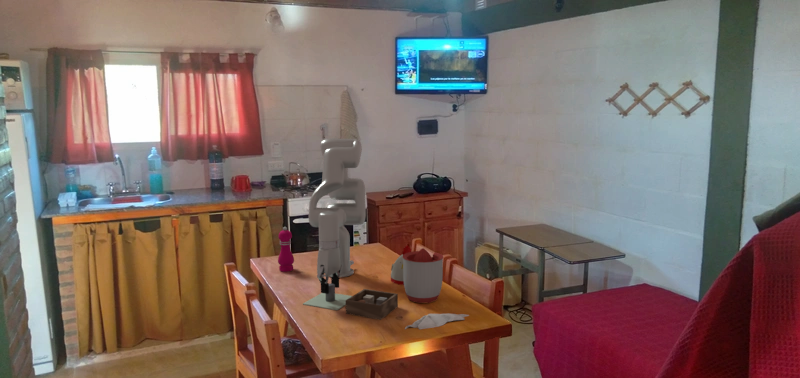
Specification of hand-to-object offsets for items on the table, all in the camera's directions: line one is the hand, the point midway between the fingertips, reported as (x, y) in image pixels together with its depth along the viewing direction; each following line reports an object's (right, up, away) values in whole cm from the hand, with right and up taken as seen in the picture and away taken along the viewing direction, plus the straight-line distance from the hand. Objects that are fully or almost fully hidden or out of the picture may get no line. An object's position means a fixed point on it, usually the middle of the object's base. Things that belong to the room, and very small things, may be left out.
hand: (330, 289), depth 212 cm
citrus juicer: (+36, -4, +4) cm, 36 cm away
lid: (0, -5, +1) cm, 5 cm away
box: (+16, -6, -9) cm, 20 cm away
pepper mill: (-25, +1, +41) cm, 48 cm away
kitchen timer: (+29, -1, +26) cm, 40 cm away
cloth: (+39, -8, -19) cm, 44 cm away
